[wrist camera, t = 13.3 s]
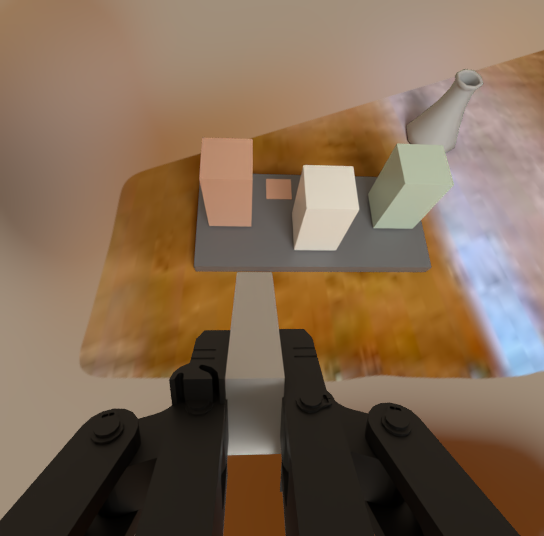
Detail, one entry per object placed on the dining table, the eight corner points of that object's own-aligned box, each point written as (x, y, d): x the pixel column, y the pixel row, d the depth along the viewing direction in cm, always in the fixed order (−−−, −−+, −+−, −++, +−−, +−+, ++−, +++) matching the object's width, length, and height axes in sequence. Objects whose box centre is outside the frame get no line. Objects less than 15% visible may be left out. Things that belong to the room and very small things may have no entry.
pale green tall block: (405, 194, 44) (443, 145, 35) (412, 228, 42) (453, 184, 33) (368, 193, 43) (396, 143, 35) (373, 228, 41) (405, 183, 33)
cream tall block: (332, 214, 42) (353, 166, 33) (335, 250, 40) (359, 209, 32) (292, 213, 41) (303, 165, 33) (293, 250, 40) (306, 208, 31)
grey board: (406, 184, 47) (412, 177, 45) (425, 272, 42) (431, 267, 40) (201, 179, 44) (200, 172, 43) (195, 271, 40) (193, 266, 38)
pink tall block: (251, 191, 42) (252, 139, 34) (251, 226, 40) (252, 180, 32) (211, 190, 42) (202, 137, 34) (209, 225, 40) (199, 178, 32)
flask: (397, 123, 51) (431, 61, 42) (439, 116, 52) (481, 54, 43) (417, 161, 48) (458, 103, 39) (461, 152, 50) (510, 95, 40)
